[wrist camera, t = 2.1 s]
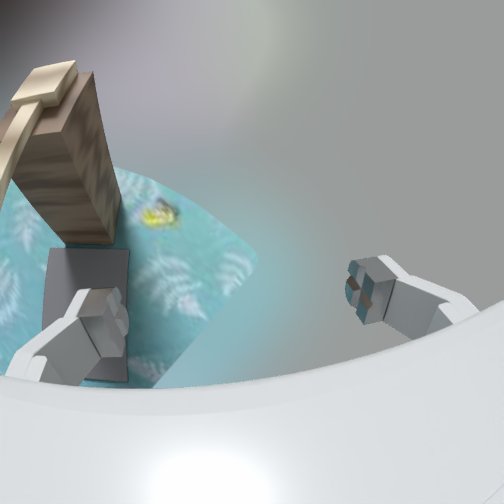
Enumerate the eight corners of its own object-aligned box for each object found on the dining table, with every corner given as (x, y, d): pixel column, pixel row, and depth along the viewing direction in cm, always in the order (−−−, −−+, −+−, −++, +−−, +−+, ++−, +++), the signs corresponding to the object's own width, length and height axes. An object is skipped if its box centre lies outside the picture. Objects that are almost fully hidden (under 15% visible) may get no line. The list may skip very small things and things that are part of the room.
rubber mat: (128, 381, 37) (127, 381, 36) (44, 371, 33) (42, 371, 32) (129, 250, 44) (128, 249, 44) (51, 248, 40) (50, 247, 40)
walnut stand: (113, 244, 44) (60, 131, 18) (65, 243, 41) (-12, 143, 16) (121, 195, 47) (93, 71, 22) (75, 195, 44) (25, 83, 19)
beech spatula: (11, 221, 15) (0, 209, 13) (-32, 223, 13) (-43, 212, 11) (78, 73, 21) (75, 60, 19) (37, 80, 20) (34, 68, 18)
